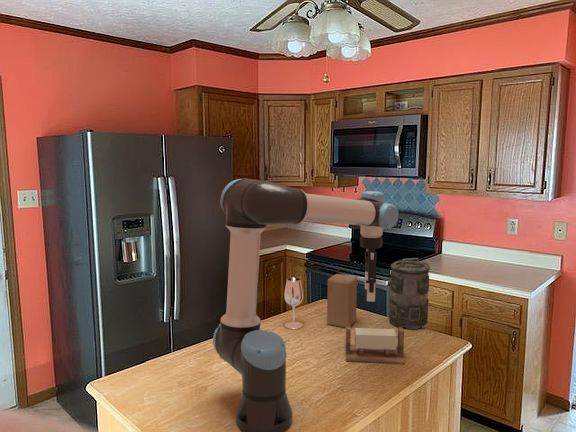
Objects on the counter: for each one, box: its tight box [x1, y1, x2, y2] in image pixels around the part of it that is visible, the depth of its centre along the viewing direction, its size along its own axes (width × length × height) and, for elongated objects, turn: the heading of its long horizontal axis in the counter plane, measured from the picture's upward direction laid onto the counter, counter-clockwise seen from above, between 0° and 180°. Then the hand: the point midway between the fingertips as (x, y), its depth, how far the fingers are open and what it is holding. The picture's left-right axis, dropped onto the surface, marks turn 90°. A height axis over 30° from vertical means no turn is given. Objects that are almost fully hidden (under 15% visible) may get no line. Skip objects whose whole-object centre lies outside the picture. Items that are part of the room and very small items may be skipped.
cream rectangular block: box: [354, 327, 398, 350], centre depth 160 cm, size 6×14×5 cm, turn 85°
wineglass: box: [283, 277, 304, 330], centre depth 187 cm, size 8×8×20 cm
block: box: [326, 273, 358, 329], centre depth 189 cm, size 10×10×20 cm
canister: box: [388, 257, 431, 330], centre depth 189 cm, size 16×16×28 cm
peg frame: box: [344, 325, 406, 365], centre depth 161 cm, size 13×20×10 cm, turn 84°
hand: (369, 295), depth 159 cm, fingers open, 13 cm apart
